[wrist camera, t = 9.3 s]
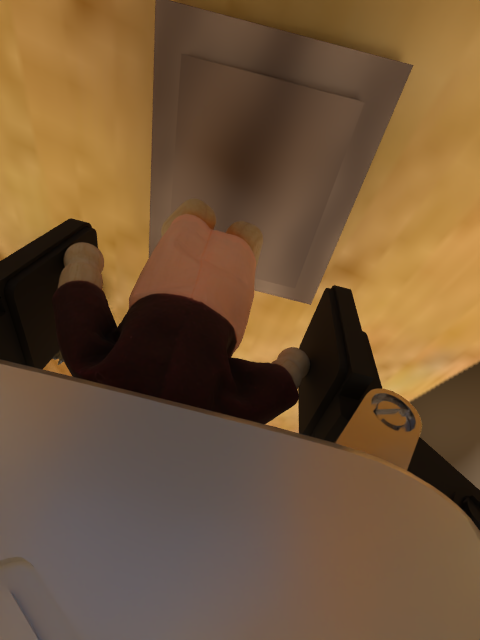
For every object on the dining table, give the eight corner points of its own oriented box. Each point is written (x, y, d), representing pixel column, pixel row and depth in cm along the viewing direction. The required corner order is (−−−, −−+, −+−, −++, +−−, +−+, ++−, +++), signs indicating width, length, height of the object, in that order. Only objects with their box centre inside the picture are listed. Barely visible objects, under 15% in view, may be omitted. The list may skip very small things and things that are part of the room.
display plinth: (400, 66, 19) (421, 64, 16) (309, 289, 29) (311, 315, 25) (170, 5, 18) (145, -10, 15) (159, 250, 28) (141, 272, 25)
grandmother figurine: (138, 258, 15) (-171, 613, 5) (143, 175, 13) (-426, 532, 3) (292, 303, 15) (288, 720, 5) (324, 230, 13) (426, 733, 3)
